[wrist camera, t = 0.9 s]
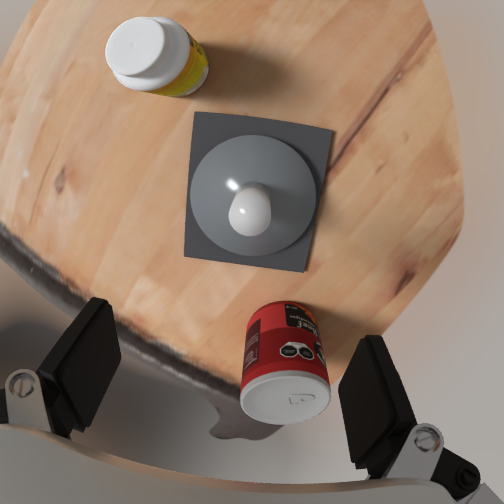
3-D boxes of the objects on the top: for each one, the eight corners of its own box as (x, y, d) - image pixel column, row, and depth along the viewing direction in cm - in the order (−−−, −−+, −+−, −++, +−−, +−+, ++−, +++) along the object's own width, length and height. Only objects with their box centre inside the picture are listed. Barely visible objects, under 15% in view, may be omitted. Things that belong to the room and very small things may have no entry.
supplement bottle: (223, 62, 22) (199, 30, 13) (183, 109, 24) (137, 105, 15) (177, 31, 21) (132, -7, 11) (139, 77, 22) (78, 63, 13)
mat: (195, 111, 24) (194, 111, 23) (331, 130, 24) (332, 130, 24) (185, 254, 30) (184, 256, 29) (303, 270, 30) (303, 272, 30)
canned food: (325, 336, 34) (341, 410, 24) (265, 358, 35) (263, 432, 26) (301, 287, 31) (314, 363, 21) (234, 314, 33) (223, 391, 23)
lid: (198, 128, 24) (179, 131, 19) (324, 145, 24) (340, 153, 19) (189, 243, 29) (172, 273, 23) (301, 258, 29) (309, 291, 24)
